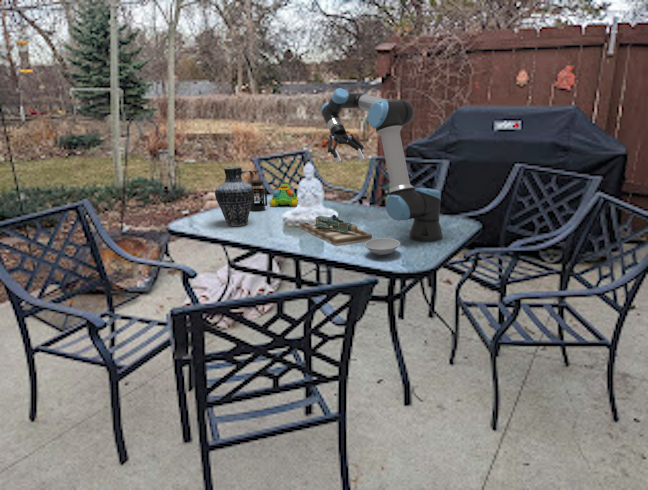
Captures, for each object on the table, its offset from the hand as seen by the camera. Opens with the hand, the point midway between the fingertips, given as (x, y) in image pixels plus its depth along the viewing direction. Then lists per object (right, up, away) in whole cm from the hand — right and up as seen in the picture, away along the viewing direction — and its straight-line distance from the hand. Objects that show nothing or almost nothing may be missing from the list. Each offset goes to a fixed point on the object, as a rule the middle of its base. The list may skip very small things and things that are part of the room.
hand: (351, 161), depth 248 cm
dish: (+11, -46, -39) cm, 61 cm away
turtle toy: (-38, -17, +61) cm, 73 cm away
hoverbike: (-8, -35, -7) cm, 37 cm away
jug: (-59, -31, +12) cm, 68 cm away
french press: (-53, -21, +45) cm, 72 cm away
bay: (-9, -36, -7) cm, 38 cm away
